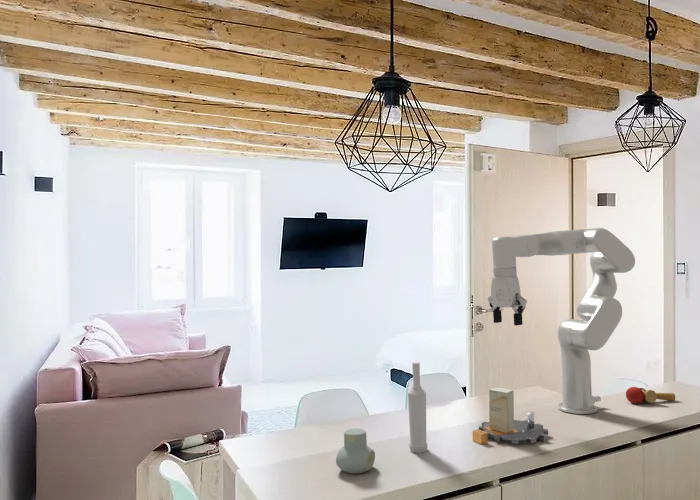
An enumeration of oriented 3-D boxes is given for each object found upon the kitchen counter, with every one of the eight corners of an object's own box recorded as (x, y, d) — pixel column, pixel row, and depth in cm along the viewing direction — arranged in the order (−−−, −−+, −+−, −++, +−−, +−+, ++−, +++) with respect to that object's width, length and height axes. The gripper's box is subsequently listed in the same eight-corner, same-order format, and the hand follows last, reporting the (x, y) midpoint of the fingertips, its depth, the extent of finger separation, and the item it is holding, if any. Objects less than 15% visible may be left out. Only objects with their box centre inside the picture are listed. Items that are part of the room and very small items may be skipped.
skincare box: (489, 429, 168) (487, 389, 168) (496, 425, 172) (495, 386, 172) (508, 433, 164) (506, 392, 164) (515, 429, 167) (513, 389, 167)
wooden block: (513, 430, 174) (513, 420, 174) (530, 436, 168) (529, 426, 168) (469, 439, 166) (469, 429, 166) (484, 446, 160) (484, 435, 160)
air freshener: (349, 460, 152) (348, 424, 152) (377, 464, 149) (376, 426, 149) (333, 475, 142) (332, 436, 142) (363, 479, 139) (362, 439, 139)
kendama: (663, 401, 207) (619, 397, 205) (666, 385, 206) (622, 381, 204) (677, 410, 199) (632, 406, 197) (681, 394, 198) (635, 390, 196)
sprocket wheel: (522, 419, 182) (521, 403, 182) (563, 438, 162) (562, 420, 162) (466, 426, 176) (466, 410, 176) (502, 447, 156) (501, 428, 157)
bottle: (427, 447, 161) (424, 361, 161) (428, 453, 156) (425, 364, 156) (409, 446, 161) (406, 361, 162) (409, 453, 156) (406, 364, 156)
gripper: (479, 273, 193) (482, 322, 193) (515, 274, 177) (518, 327, 177) (495, 272, 196) (498, 320, 196) (532, 272, 181) (535, 324, 181)
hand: (507, 323), depth 187 cm, fingers open, 9 cm apart
